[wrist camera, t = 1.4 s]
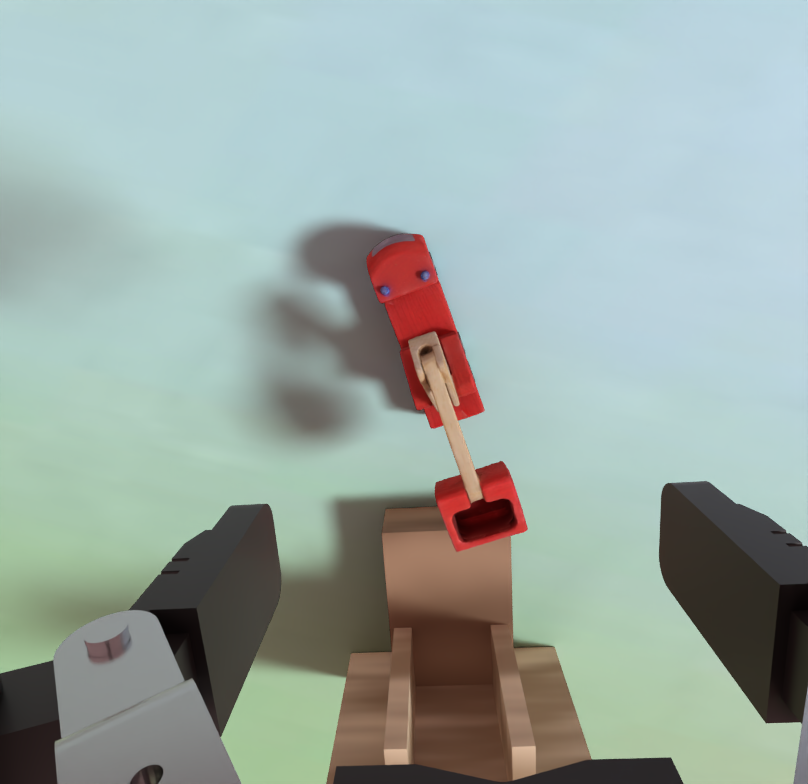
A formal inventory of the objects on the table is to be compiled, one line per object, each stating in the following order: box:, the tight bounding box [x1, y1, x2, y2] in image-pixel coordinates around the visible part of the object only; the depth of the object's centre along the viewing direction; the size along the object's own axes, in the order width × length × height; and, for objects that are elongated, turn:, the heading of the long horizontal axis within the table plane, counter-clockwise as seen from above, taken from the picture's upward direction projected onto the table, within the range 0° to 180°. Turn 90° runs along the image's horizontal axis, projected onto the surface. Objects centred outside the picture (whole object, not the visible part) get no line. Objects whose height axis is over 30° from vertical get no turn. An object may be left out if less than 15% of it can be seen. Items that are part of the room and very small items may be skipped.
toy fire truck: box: [366, 234, 528, 552], centre depth 26 cm, size 3×14×10 cm, turn 20°
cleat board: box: [326, 507, 592, 784], centre depth 25 cm, size 12×13×20 cm
